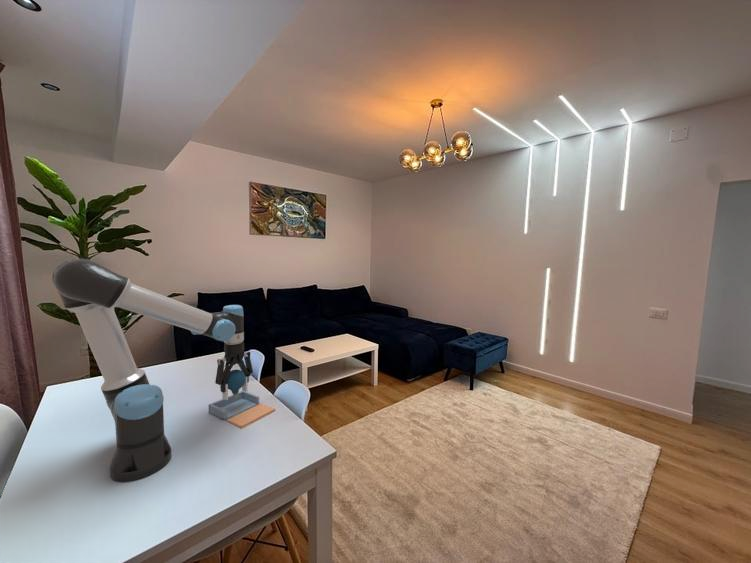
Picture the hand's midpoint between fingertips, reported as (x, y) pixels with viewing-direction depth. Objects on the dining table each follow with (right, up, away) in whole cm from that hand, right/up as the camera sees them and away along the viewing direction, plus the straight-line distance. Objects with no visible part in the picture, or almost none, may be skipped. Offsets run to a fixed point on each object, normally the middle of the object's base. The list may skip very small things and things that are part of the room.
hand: (235, 394), depth 127 cm
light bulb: (0, -2, 0) cm, 2 cm away
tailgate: (+5, -6, -3) cm, 9 cm away
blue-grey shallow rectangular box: (-1, -7, +1) cm, 7 cm away
